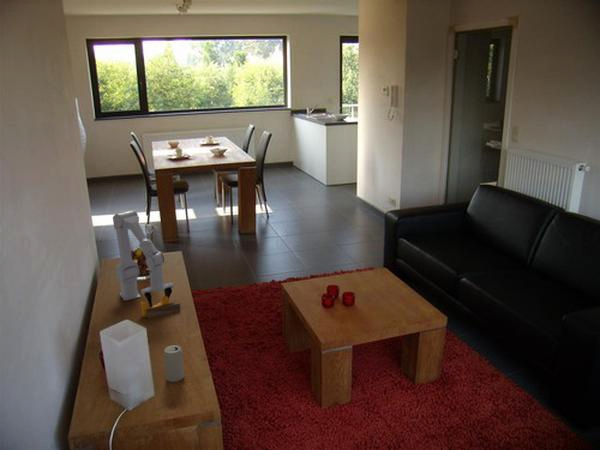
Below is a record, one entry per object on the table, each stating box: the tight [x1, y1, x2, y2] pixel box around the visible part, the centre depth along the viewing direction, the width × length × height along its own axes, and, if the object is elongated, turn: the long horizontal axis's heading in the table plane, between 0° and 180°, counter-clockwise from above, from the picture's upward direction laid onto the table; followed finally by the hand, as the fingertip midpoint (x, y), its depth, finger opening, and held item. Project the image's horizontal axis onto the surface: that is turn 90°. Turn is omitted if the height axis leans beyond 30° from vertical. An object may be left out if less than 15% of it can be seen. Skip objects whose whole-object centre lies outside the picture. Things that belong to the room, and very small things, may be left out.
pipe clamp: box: [140, 295, 170, 318], centre depth 231 cm, size 12×4×6 cm, turn 123°
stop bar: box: [146, 301, 181, 319], centre depth 230 cm, size 2×15×4 cm, turn 123°
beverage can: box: [163, 344, 185, 383], centre depth 180 cm, size 6×6×12 cm
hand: (158, 304), depth 235 cm, fingers open, 7 cm apart
